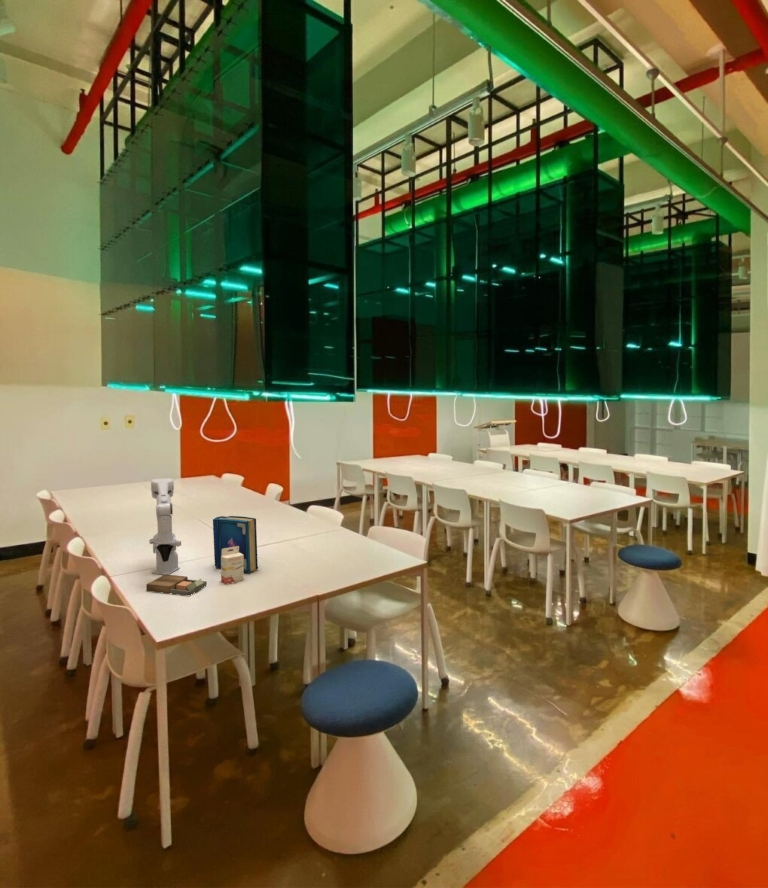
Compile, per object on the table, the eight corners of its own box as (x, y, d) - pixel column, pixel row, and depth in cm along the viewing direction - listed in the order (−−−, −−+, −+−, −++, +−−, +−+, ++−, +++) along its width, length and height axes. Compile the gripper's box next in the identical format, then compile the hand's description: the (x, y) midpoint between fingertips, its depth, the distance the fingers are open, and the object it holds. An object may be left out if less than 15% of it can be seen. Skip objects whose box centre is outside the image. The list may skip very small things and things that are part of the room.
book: (211, 568, 232) (210, 516, 230) (221, 563, 239) (220, 513, 237) (249, 574, 224) (248, 521, 222) (258, 569, 231) (258, 517, 229)
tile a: (183, 585, 209) (183, 581, 209) (192, 586, 208) (192, 582, 208) (176, 589, 205) (176, 584, 204) (185, 590, 204) (185, 585, 203)
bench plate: (165, 580, 215) (165, 574, 215) (187, 583, 213) (187, 576, 212) (146, 591, 204) (146, 584, 203) (169, 593, 201) (169, 586, 201)
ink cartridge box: (225, 584, 212) (225, 551, 211) (220, 581, 216) (220, 548, 214) (244, 580, 217) (243, 547, 216) (239, 577, 221) (239, 545, 220)
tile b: (201, 578, 207) (203, 582, 207) (193, 582, 208) (195, 586, 208) (194, 582, 202) (196, 586, 202) (186, 586, 203) (188, 590, 203)
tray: (188, 583, 213) (188, 579, 213) (206, 585, 211) (206, 581, 210) (170, 593, 201) (170, 589, 201) (189, 596, 199) (189, 591, 199)
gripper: (144, 531, 210) (144, 562, 211) (173, 534, 207) (174, 565, 208) (155, 527, 217) (156, 557, 218) (183, 529, 213) (184, 560, 215)
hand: (165, 561), depth 213 cm, fingers closed
